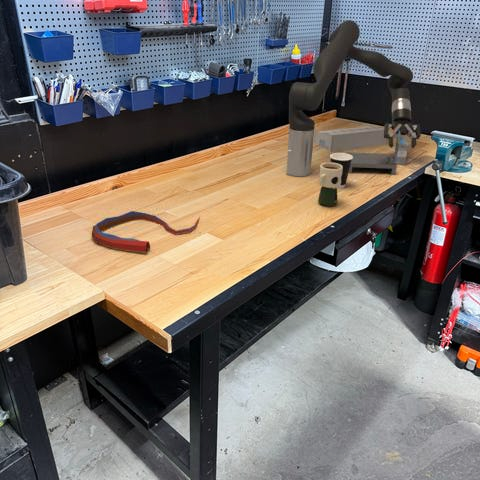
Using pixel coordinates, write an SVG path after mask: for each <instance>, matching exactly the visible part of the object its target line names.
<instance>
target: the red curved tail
mask: <svg viewBox="0 0 480 480" xmlns="http://www.w3.org/2000/svg"><path fill="white" fill-rule="evenodd" d="M200 218H201V217H200V216H199V217H198V218H197V220H196V222H195V223H194V225H193V226H191V227H188V228H182V229H177V230H176V229H174V228H172V227H170V225H169V224H168V223H167V222H166V221H164V220H163V219H161V218H159V217H158V216H156V215H153V214H149V213H146V212H140V211H135V210H131V211H128V212H126V213H124V214H121V215H117V216H111V217H106V218H104V219H102V220H100V221H99V222H97V223H96V224H95V225H93V226H92V228H91V229H92V230H91V237H92V239H93V240H94V241H95V243H97V244H98V243H99V244H98V245H101V244H102V245H101V246H104V247H107V248H109V247H110V249H112V248H114V249H113V250H118V249H119V250H118V251H123V252H125V251H126V252H130V251H131V252H132V253H138V252H139V253H140V254H146V253H147V250H149V249H150V250H151V245H150V241H149V240H148V241H147V240H139V239H136V238H132V237H131V238H130V237H121V236H118V235H115V234H110V233H106V232H105V231H107V230H110V229H112V228H114V226H115V227H116V226H120V225H123V224H126V223H129V222H133V221H142V220H143V221H147V222H151V223H154V222H155V224H158V225H159V224H160V225H159V226H162V227H163V228H164V230H165V231H166V232H168V233H170V234H173V235H175V236H176V235H177V236H178V235H182V234H187V233H191V232H192V231H193V230H195V229H196V228H197V226H198V223H199V221H200ZM111 227H112V228H111ZM106 229H107V230H106ZM104 230H105V231H104ZM102 231H103V232H102Z"/></svg>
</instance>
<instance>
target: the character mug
mask: <svg viewBox="0 0 480 480" xmlns="http://www.w3.org/2000/svg"><path fill="white" fill-rule="evenodd" d="M342 170H343V166H342V165H340V164H338V163H331V161H329V162H322V163H321V164H320V165H319V176H318V177H319V178H318V184H319V186H321V187H320V190H319V193H318V194H319V195H318V199H317V202H318V203H320V204H321V205H324V206H326V207H327V206H329V207H330V206H331V207H332V206H335V205H338V188H337V187H339V186H340V185H341V176H342Z"/></svg>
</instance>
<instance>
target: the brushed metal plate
mask: <svg viewBox="0 0 480 480" xmlns="http://www.w3.org/2000/svg"><path fill="white" fill-rule="evenodd" d="M344 153H346V154H349V155H352V156H353V159H352V161H351V165H350V169H349V173H348V174H352V171H353V168H364V169H365V168H369V169H370V168H371V169H387V170H388V172H389V174H390V175H391V176H395V175H396V174H397V173H396V172H397V166H398V164H396V163H395V160H394V157H393V156H392V155H391V154H390V153H380V152H379V153H375V152H374V153H372V152H349V151H348V152H347V151H346V152H344Z"/></svg>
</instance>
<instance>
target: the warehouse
mask: <svg viewBox="0 0 480 480" xmlns="http://www.w3.org/2000/svg"><path fill="white" fill-rule="evenodd" d="M389 130H390V129H389ZM389 130H388V132H389ZM387 142H388V139H387V138H384V127H383V128H382V127H378V126H377V127H376V126H370V125H367V126H360V127H359V126H357V127H349V128H339V129H337V128H336V129H329V130H320V131H314V139H313V144H315V145H317V146H320V147H322V148H324V149H326V150H327V151H329V152H337V151H339V152H340V151H346V150H354V149H362V148H372V147H377V146H378V147H379V146H386V145H387Z"/></svg>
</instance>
